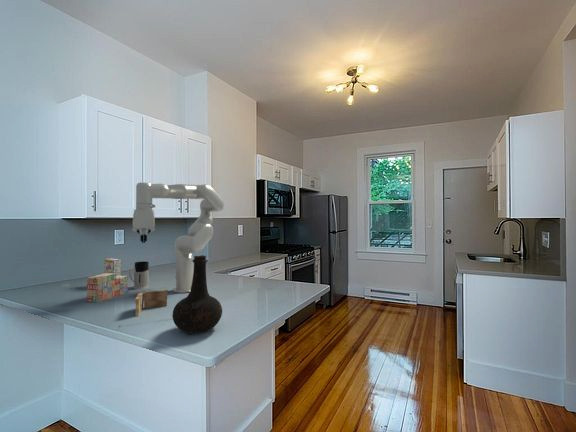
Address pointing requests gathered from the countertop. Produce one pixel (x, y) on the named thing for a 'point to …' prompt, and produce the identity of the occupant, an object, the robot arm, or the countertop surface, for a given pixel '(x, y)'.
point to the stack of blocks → (106, 286)
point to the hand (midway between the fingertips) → (143, 242)
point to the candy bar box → (112, 266)
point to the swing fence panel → (138, 303)
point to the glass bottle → (197, 303)
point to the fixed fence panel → (154, 299)
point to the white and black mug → (140, 275)
